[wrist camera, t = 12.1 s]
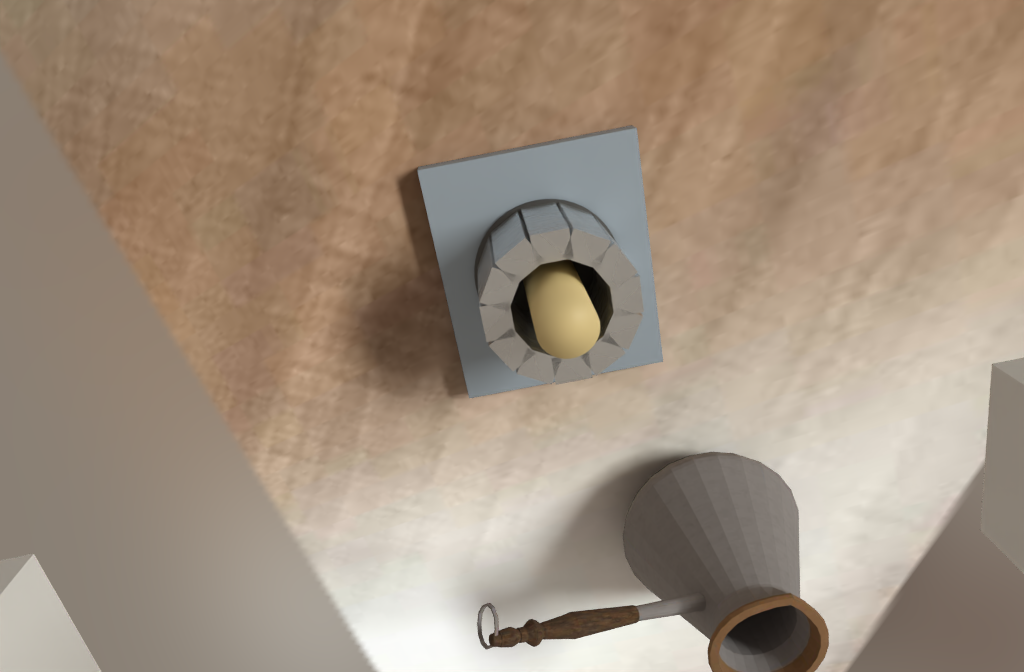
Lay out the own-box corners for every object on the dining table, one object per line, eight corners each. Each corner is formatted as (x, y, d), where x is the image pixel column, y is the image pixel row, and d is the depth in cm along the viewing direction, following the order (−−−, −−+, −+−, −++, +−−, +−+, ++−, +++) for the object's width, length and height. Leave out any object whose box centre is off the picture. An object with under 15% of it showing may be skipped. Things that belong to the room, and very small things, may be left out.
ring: (466, 219, 41) (466, 247, 35) (609, 191, 41) (632, 215, 35) (493, 350, 44) (497, 395, 38) (626, 324, 44) (650, 366, 38)
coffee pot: (805, 448, 50) (939, 609, 36) (747, 584, 54) (846, 776, 40) (494, 391, 47) (507, 542, 33) (457, 540, 51) (454, 730, 37)
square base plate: (418, 166, 41) (404, 205, 32) (631, 125, 41) (682, 151, 31) (469, 389, 46) (470, 479, 37) (658, 353, 46) (708, 435, 37)
